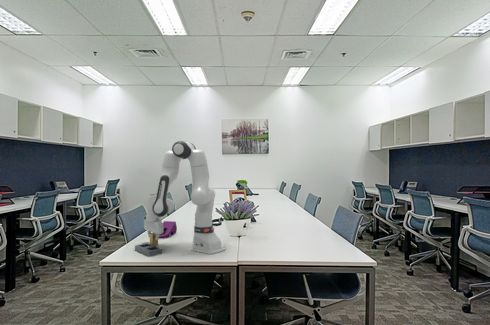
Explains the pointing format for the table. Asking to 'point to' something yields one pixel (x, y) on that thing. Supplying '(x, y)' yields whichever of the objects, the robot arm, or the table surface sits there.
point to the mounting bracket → (168, 229)
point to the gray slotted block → (148, 249)
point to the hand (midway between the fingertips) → (153, 238)
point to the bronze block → (153, 239)
